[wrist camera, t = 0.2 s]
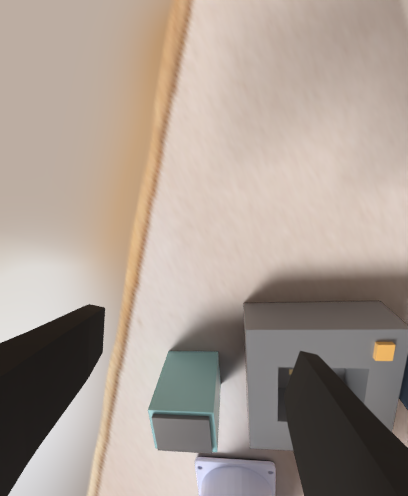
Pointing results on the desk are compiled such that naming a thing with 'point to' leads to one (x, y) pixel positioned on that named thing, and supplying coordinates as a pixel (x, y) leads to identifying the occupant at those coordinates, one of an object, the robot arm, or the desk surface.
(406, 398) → the vaping device
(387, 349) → the socket
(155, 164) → the desk surface
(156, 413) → the plug
